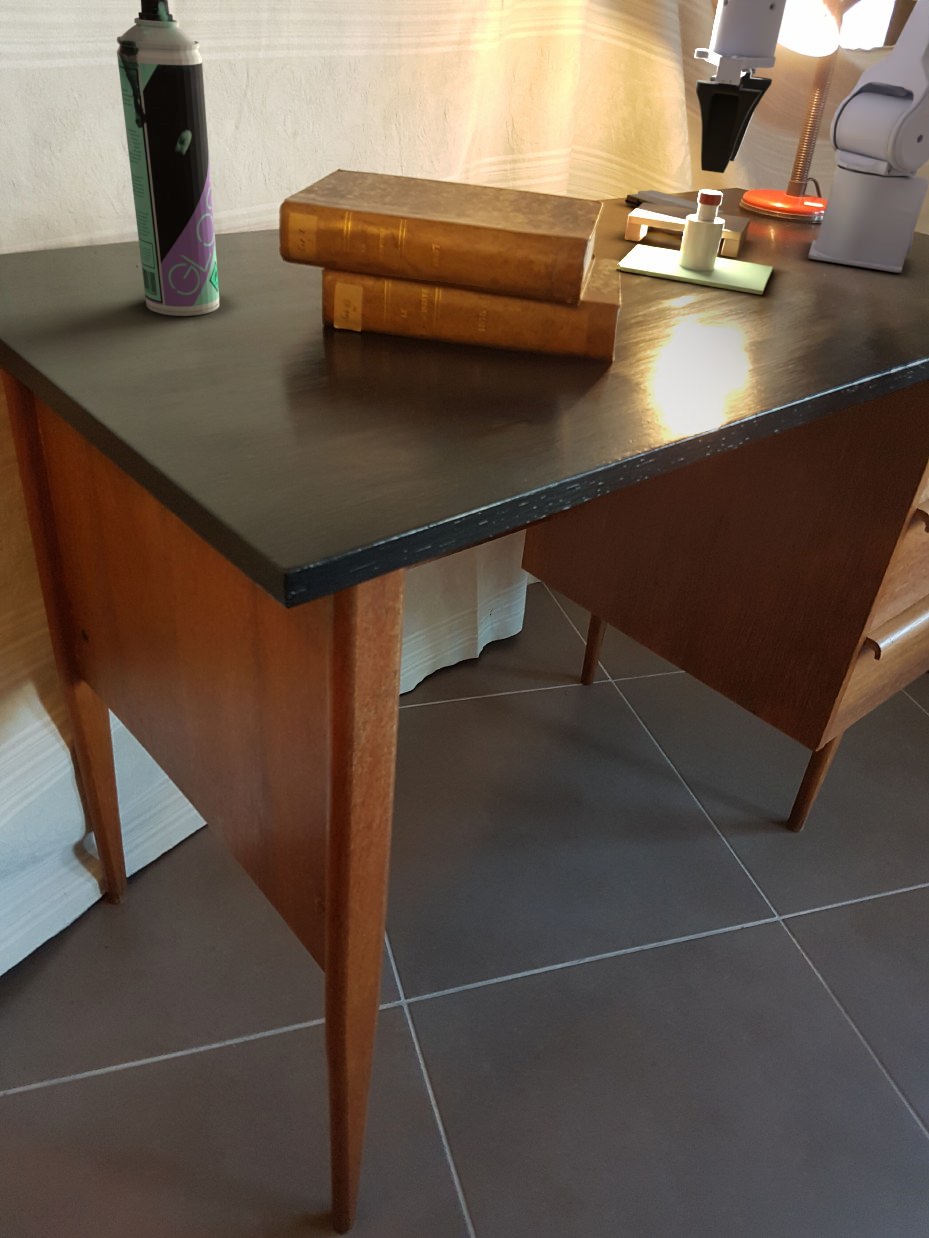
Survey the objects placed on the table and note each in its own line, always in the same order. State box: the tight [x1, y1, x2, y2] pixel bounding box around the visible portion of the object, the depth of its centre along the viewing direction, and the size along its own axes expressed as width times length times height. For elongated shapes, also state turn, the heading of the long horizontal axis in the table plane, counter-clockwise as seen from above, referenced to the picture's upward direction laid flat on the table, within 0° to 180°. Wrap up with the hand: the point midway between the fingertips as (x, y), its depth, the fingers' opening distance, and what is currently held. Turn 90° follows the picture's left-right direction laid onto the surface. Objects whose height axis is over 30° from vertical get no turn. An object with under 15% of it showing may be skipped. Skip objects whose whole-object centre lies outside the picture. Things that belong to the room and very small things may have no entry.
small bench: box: [624, 202, 751, 258], centre depth 104 cm, size 12×8×2 cm, turn 69°
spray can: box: [116, 0, 220, 317], centre depth 68 cm, size 6×6×20 cm
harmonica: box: [624, 189, 724, 214], centre depth 113 cm, size 15×3×2 cm, turn 36°
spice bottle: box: [678, 189, 724, 271], centre depth 92 cm, size 4×4×7 cm
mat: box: [618, 244, 774, 296], centre depth 94 cm, size 14×10×1 cm
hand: (718, 165), depth 90 cm, fingers open, 7 cm apart
